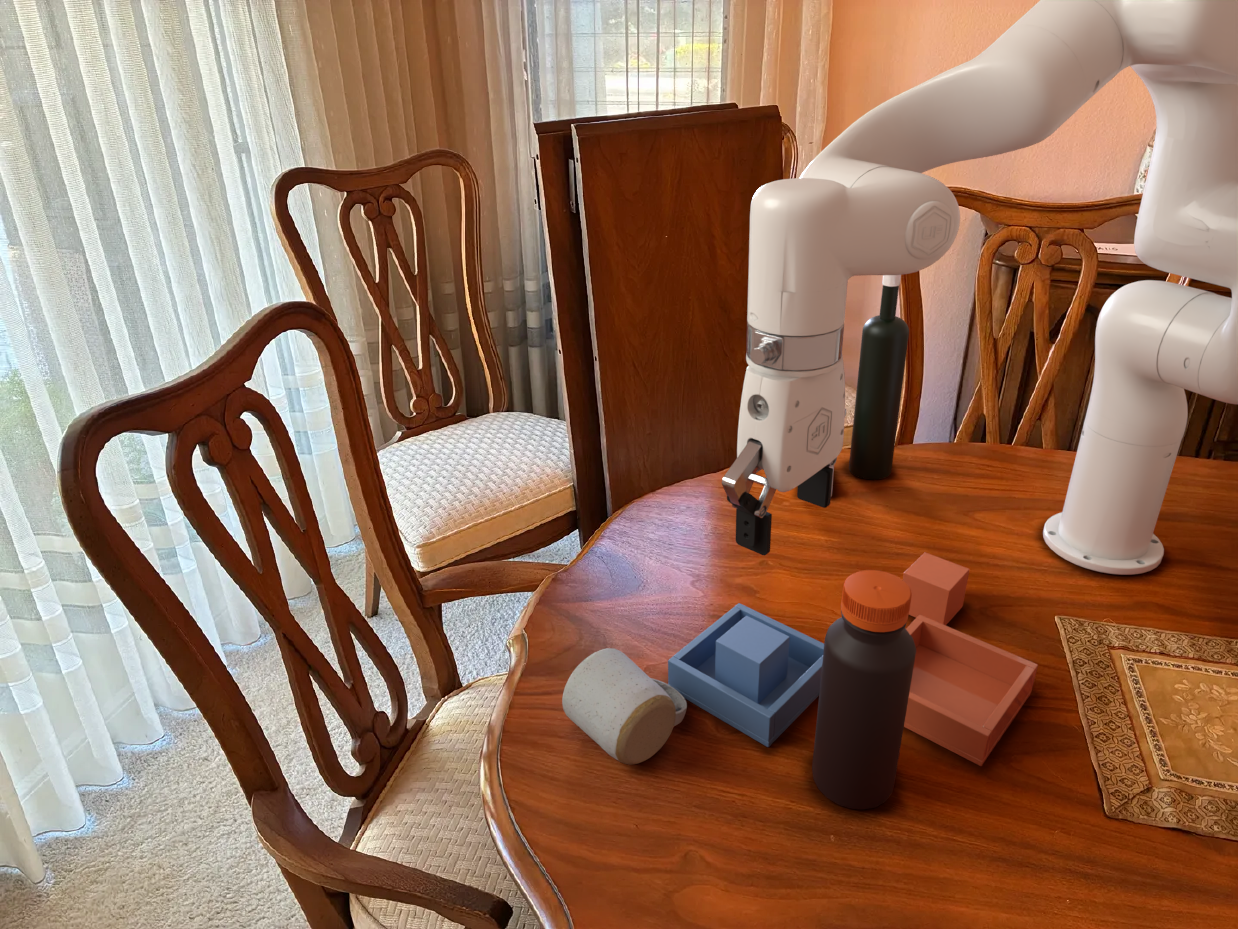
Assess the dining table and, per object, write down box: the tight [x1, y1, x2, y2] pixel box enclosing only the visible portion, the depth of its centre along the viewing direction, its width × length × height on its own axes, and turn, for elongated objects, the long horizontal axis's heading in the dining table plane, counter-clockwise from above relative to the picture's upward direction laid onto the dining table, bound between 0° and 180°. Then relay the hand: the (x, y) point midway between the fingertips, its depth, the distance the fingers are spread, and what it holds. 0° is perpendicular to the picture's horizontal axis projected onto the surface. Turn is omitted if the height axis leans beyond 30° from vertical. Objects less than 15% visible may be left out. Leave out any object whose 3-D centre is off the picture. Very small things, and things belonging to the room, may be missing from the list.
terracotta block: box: [902, 551, 970, 626], centre depth 91 cm, size 5×5×5 cm
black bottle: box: [811, 569, 916, 810], centre depth 68 cm, size 7×7×20 cm
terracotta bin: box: [904, 615, 1039, 767], centre depth 80 cm, size 12×12×4 cm
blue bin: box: [667, 602, 824, 748], centre depth 83 cm, size 12×12×4 cm
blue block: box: [715, 616, 790, 704], centre depth 82 cm, size 5×5×5 cm
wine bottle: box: [848, 275, 910, 481], centre depth 113 cm, size 6×6×30 cm
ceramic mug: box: [561, 647, 688, 766], centre depth 77 cm, size 11×8×8 cm
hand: (784, 524), depth 76 cm, fingers open, 9 cm apart
